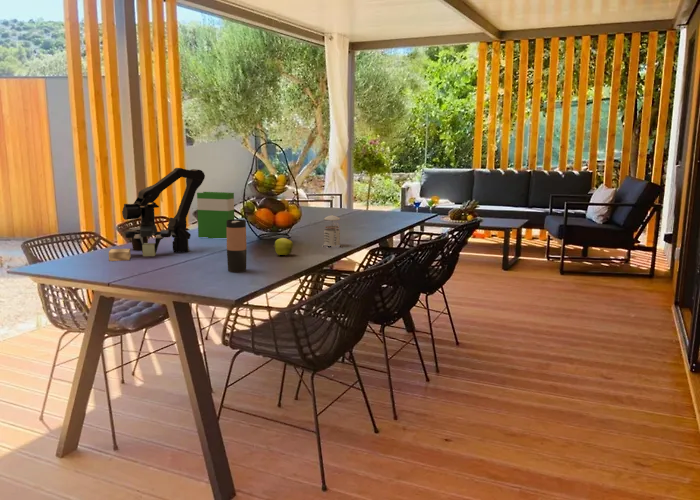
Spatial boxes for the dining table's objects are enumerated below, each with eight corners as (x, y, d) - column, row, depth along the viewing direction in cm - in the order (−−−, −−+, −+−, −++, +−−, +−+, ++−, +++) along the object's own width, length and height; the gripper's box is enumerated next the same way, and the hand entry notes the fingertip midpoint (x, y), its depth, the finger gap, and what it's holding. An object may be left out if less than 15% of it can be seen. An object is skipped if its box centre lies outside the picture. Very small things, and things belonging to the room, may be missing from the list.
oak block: (130, 257, 261) (130, 248, 261) (129, 261, 254) (128, 251, 253) (111, 258, 259) (110, 249, 259) (109, 261, 252) (108, 252, 251)
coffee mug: (143, 251, 275) (142, 229, 273) (126, 250, 277) (125, 229, 275) (156, 247, 286) (155, 226, 285) (140, 246, 288) (139, 226, 286)
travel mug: (241, 267, 241) (240, 218, 238) (250, 271, 235) (249, 220, 232) (223, 270, 237) (222, 220, 233) (232, 273, 231) (231, 222, 227)
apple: (273, 254, 273) (273, 236, 272) (293, 254, 273) (293, 236, 272) (271, 257, 266) (271, 239, 264) (292, 257, 266) (292, 239, 264)
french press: (336, 243, 303) (337, 194, 299) (346, 247, 293) (347, 196, 289) (319, 245, 299) (319, 195, 295) (328, 248, 289) (328, 197, 285)
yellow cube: (156, 254, 269) (155, 243, 268) (154, 256, 264) (154, 244, 263) (144, 254, 268) (144, 243, 267) (142, 256, 263) (142, 245, 262)
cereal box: (198, 237, 318) (196, 192, 314) (205, 235, 325) (203, 191, 321) (228, 239, 314) (227, 193, 309) (234, 237, 321) (233, 192, 316)
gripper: (122, 220, 254) (123, 256, 257) (167, 220, 257) (168, 255, 260) (127, 217, 265) (128, 252, 267) (170, 217, 268) (171, 251, 271)
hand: (149, 252), depth 266 cm, fingers closed on yellow cube, 5 cm apart
